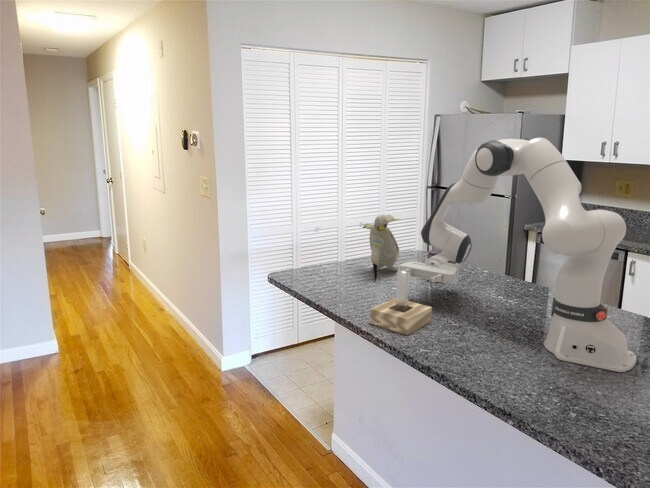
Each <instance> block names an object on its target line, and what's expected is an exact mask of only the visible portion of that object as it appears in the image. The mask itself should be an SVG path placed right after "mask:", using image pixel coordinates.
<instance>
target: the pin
mask: <svg viewBox="0 0 650 488" xmlns="http://www.w3.org/2000/svg"><path fill="white" fill-rule="evenodd" d="M410 280H411V276H410V271H409V270H400V269H398V270H396V289H395V290H396V291H395V298H396V305H395V310H396V311H400V312H403V313H404V312H406V311H408V301H409V297H410V296H409V295H410V285H411V283H410V282H411V281H410Z"/></svg>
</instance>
